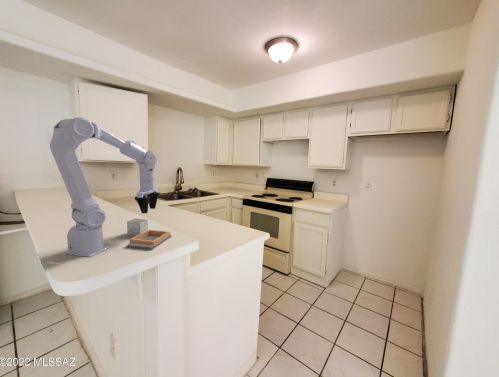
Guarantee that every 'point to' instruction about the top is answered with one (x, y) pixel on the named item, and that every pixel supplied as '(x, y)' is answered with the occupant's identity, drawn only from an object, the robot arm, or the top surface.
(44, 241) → the top surface
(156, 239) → the frame
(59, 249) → the top surface
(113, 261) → the top surface
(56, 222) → the top surface
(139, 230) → the brushed metal cube
